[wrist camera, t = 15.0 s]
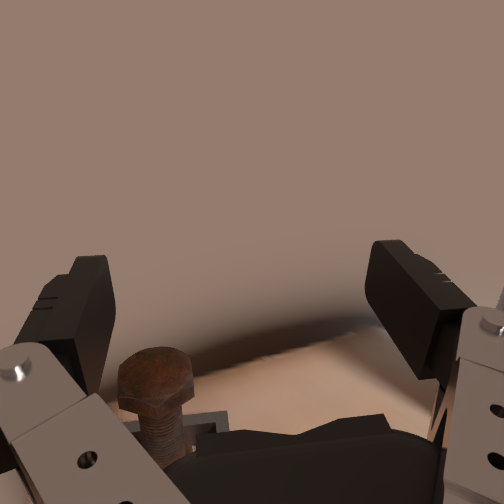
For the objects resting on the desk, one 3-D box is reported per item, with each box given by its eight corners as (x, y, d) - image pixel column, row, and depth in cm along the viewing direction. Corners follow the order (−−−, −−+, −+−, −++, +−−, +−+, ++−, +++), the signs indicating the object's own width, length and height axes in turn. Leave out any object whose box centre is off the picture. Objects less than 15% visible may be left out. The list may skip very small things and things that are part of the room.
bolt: (141, 470, 37) (119, 347, 30) (195, 459, 38) (187, 338, 31) (140, 538, 32) (114, 411, 25) (203, 523, 34) (195, 397, 26)
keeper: (227, 430, 41) (226, 410, 40) (242, 556, 31) (242, 536, 30) (111, 444, 40) (106, 424, 38) (89, 582, 30) (81, 562, 28)
